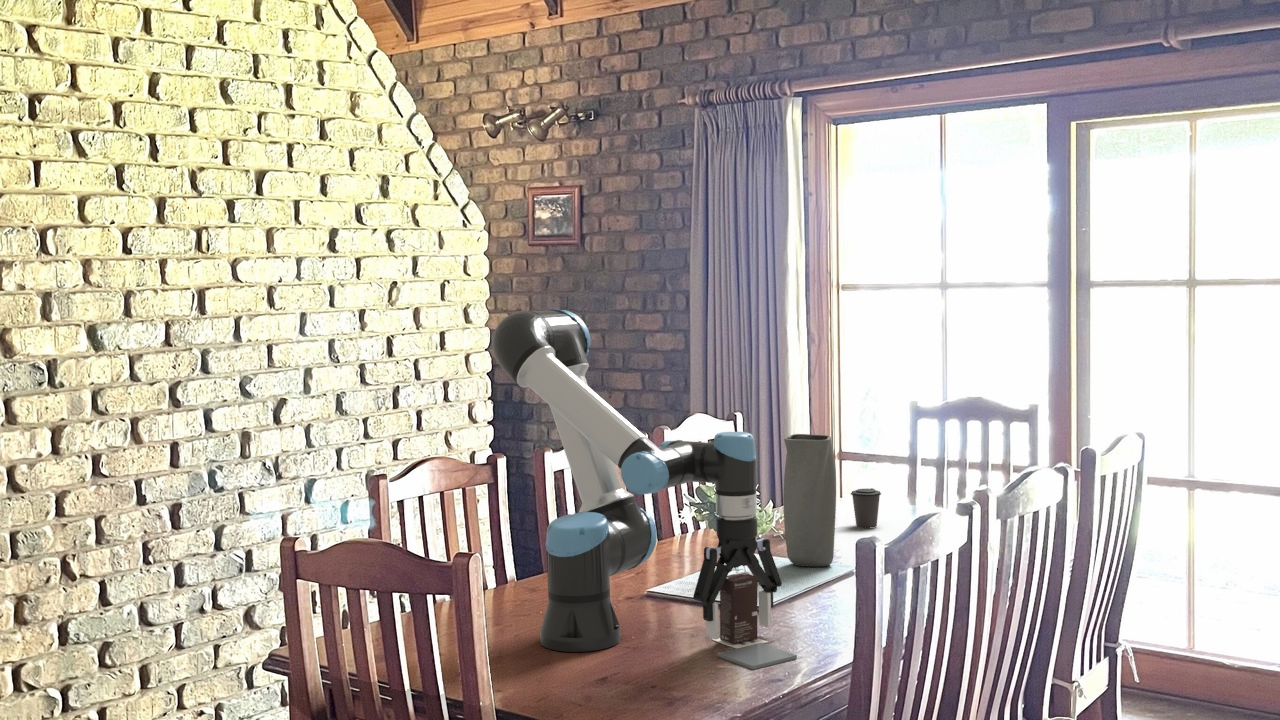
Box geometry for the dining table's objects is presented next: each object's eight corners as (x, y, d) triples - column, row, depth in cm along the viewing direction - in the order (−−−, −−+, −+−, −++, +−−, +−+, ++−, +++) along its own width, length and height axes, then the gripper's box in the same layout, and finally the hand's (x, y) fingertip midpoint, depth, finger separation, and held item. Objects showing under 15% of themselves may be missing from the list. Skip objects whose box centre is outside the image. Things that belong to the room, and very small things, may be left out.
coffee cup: (886, 525, 345) (885, 487, 344) (875, 530, 338) (874, 492, 337) (858, 522, 349) (857, 486, 348) (846, 528, 342) (845, 490, 341)
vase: (795, 557, 309) (792, 432, 307) (844, 560, 303) (841, 434, 301) (776, 567, 298) (773, 439, 296) (826, 572, 292) (824, 440, 290)
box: (734, 645, 236) (732, 581, 235) (719, 640, 240) (717, 576, 239) (760, 639, 239) (758, 575, 238) (745, 634, 243) (743, 571, 242)
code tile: (738, 649, 234) (738, 648, 234) (711, 639, 241) (711, 638, 241) (767, 642, 238) (767, 641, 238) (740, 633, 245) (740, 632, 245)
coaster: (752, 669, 222) (752, 666, 222) (717, 656, 230) (717, 653, 230) (796, 658, 228) (796, 655, 228) (760, 646, 236) (760, 642, 236)
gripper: (696, 527, 228) (699, 648, 230) (799, 510, 241) (801, 624, 243) (671, 521, 234) (675, 638, 236) (773, 505, 248) (776, 616, 249)
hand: (739, 631), depth 239 cm, fingers open, 12 cm apart
